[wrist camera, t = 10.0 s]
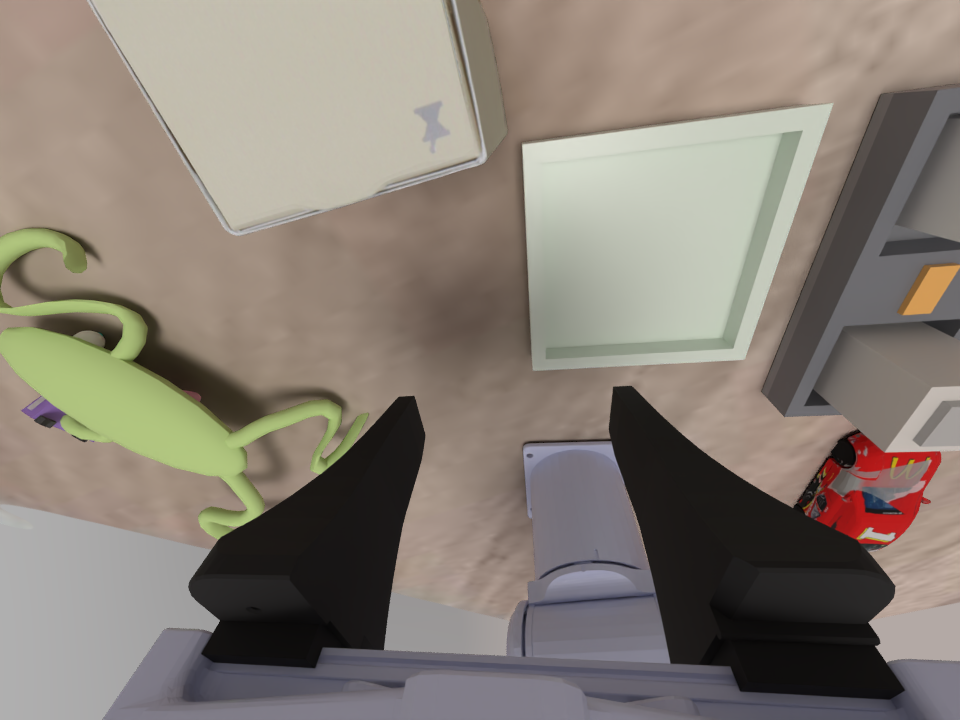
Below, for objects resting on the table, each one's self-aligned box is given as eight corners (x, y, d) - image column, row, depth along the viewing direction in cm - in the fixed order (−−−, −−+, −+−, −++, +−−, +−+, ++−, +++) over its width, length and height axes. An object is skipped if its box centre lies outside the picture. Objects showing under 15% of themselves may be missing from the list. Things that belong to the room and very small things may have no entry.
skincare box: (487, 14, 14) (432, -231, 4) (510, 136, 17) (507, 161, 7) (346, 67, 16) (50, -27, 6) (385, 174, 18) (224, 243, 8)
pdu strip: (880, 386, 23) (920, 415, 21) (761, 391, 24) (787, 420, 21) (1082, 66, 14) (1189, 57, 12) (881, 94, 15) (946, 89, 13)
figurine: (305, 518, 37) (276, 575, 33) (3, 377, 29) (-95, 426, 24) (403, 429, 29) (382, 489, 24) (13, 188, 20) (-135, 209, 16)
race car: (846, 416, 25) (898, 462, 21) (933, 417, 24) (999, 464, 21) (771, 526, 32) (801, 572, 29) (836, 528, 32) (875, 576, 28)
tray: (728, 343, 22) (744, 359, 20) (531, 355, 23) (532, 370, 22) (802, 104, 15) (833, 103, 14) (521, 142, 17) (522, 144, 15)
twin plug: (873, 374, 22) (990, 457, 16) (800, 378, 22) (891, 458, 17) (909, 315, 19) (1057, 388, 14) (827, 320, 20) (941, 393, 15)
